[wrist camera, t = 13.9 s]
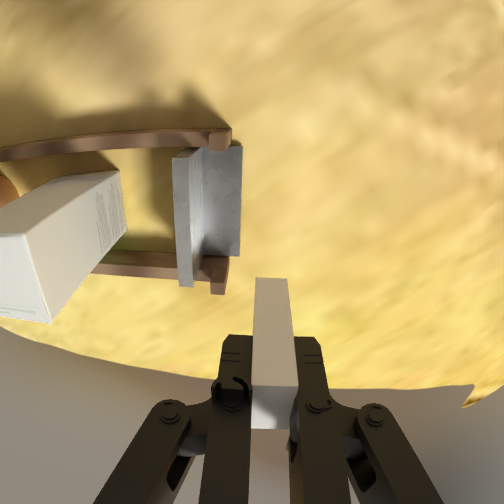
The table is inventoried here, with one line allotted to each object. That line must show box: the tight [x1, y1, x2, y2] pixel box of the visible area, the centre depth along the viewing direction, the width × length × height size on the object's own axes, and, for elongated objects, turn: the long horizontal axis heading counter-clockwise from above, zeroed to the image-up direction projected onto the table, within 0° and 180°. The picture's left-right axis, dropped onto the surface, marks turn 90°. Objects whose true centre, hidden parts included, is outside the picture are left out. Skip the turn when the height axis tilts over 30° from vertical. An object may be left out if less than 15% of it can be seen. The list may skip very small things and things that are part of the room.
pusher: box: [172, 146, 243, 287], centre depth 26 cm, size 5×10×6 cm, turn 178°
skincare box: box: [0, 170, 127, 324], centre depth 22 cm, size 8×7×16 cm
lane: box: [0, 128, 232, 295], centre depth 27 cm, size 33×13×5 cm, turn 88°
